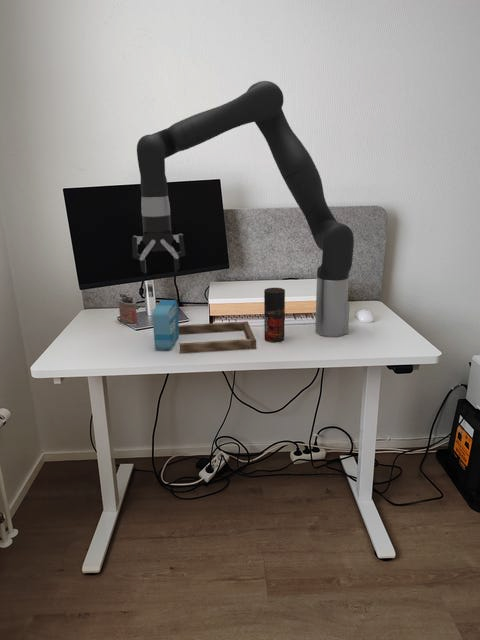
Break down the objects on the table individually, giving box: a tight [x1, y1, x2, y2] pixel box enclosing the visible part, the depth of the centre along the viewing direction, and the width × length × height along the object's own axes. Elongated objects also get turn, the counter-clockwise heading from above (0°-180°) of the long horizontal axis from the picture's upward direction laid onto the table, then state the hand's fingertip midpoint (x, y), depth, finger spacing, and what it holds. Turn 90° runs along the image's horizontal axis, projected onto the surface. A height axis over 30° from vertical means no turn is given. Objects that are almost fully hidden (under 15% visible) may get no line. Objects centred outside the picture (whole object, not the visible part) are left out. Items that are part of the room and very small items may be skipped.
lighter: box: [117, 292, 139, 326], centre depth 167 cm, size 8×3×10 cm, turn 47°
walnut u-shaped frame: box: [178, 320, 257, 355], centre depth 151 cm, size 22×17×2 cm
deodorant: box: [263, 287, 286, 344], centre depth 150 cm, size 6×6×15 cm
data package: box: [152, 299, 180, 351], centre depth 148 cm, size 12×4×12 cm, turn 175°
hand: (160, 272), depth 143 cm, fingers open, 8 cm apart
